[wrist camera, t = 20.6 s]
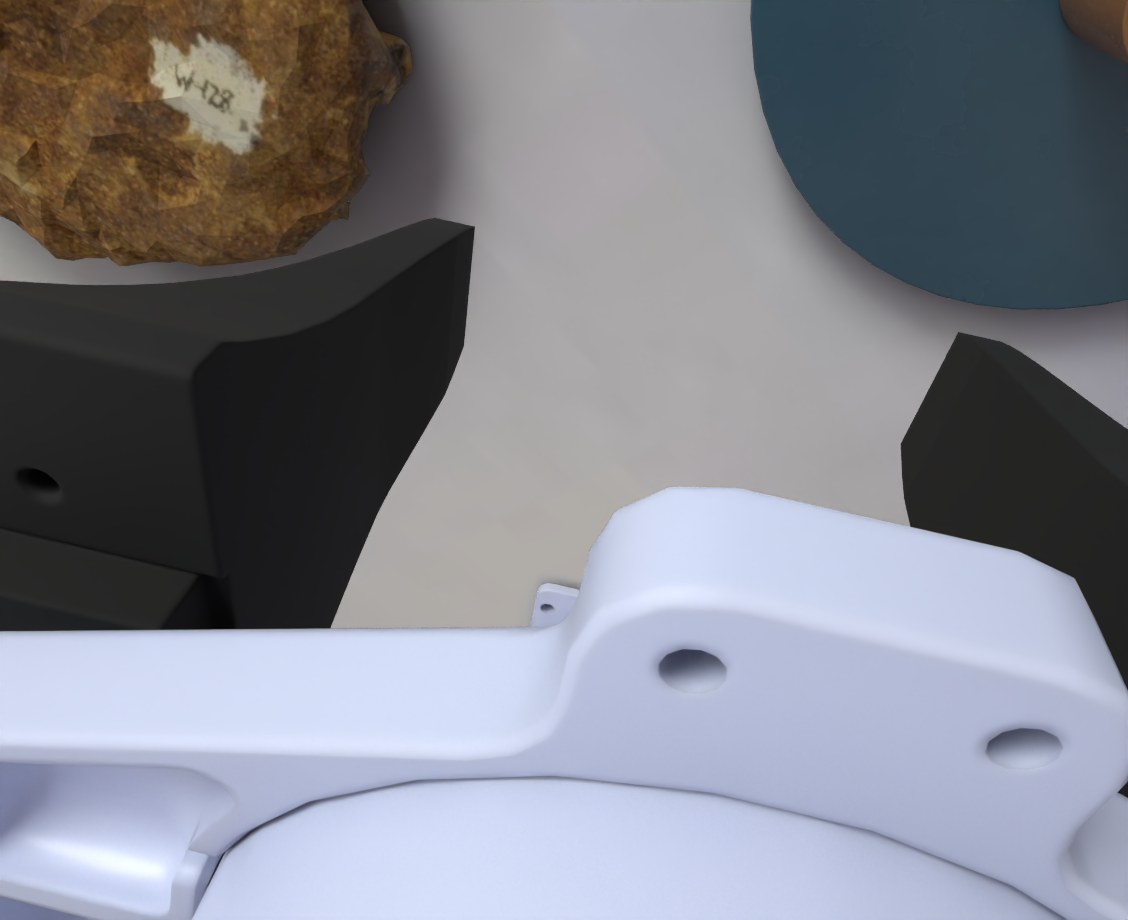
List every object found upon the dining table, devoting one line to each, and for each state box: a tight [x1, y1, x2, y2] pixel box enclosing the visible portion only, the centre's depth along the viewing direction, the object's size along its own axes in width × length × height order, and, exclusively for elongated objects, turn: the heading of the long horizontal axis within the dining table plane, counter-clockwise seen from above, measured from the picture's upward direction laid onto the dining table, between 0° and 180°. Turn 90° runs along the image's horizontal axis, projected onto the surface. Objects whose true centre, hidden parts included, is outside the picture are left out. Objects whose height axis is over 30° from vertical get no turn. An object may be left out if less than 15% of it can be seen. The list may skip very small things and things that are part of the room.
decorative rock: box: [0, 0, 413, 266], centre depth 19 cm, size 11×4×15 cm
